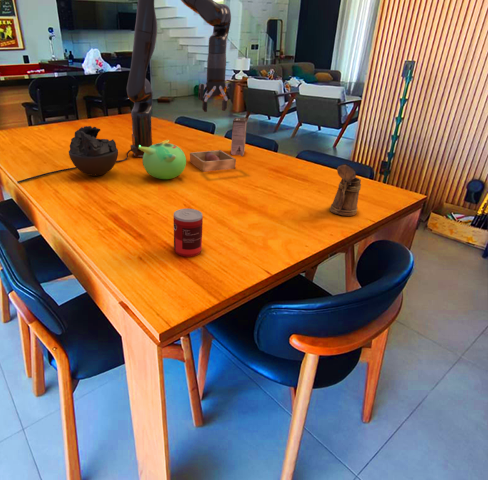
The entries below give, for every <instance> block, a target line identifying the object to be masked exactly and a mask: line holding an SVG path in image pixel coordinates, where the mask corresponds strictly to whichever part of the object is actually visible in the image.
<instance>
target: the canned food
mask: <svg viewBox="0 0 488 480" xmlns="http://www.w3.org/2000/svg"><path fill="white" fill-rule="evenodd" d="M203 219H204V218H203V212H201V211H200V210H198V209H194V208H180V209H177V210H175V211H174V212H173V249H174V252H175V253H176V255H179V256H181V257H184V258H185V257H186V258H191V257H196V256H198V255H199V254H200V253H201V252H202V248H203V222H204V220H203Z"/></svg>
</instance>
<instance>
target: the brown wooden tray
mask: <svg viewBox="0 0 488 480" xmlns="http://www.w3.org/2000/svg"><path fill="white" fill-rule="evenodd" d="M207 153H212V154H214V155H216V156H217V157H218V158H219V159H220V160H217V161H205V155H206V154H207ZM189 163H191V164H192V165H193V166H195V167H196V168H197V169H198V170H200V171H201V172H202V173H204V172H216V171H224V170H225V171H226V170H234V169H236V164H237V158H234V157H233V156H231V154H229V153H226V152H225V151H223V150H221V149H217V150H205V151H195V152H189Z"/></svg>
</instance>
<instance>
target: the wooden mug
mask: <svg viewBox="0 0 488 480" xmlns="http://www.w3.org/2000/svg"><path fill="white" fill-rule="evenodd" d="M336 172H337V175H338V176H339V177H340V178H341V180H340V181H339V183H338V187H337V190H336V193H335V195H334V199H333V201H332V203H331V204H330V208H329V211H330V212H331V213H332V214H335V215H338V216H343V217H353V216H356V215H357V212H358V202H359V195H360V191H361V187H362V184H361V181H362V179H361V178H359V177H356V176H357V171H356V170H355V168H353V166H351V165H349V164H347V163H342V164H339V165H338V166H337V168H336Z"/></svg>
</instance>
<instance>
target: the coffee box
mask: <svg viewBox="0 0 488 480" xmlns="http://www.w3.org/2000/svg"><path fill="white" fill-rule="evenodd" d="M247 127H248V117H234V118H233V120H232V130H231V132H232V133H231V145H230V156H231V155H233V156H241V157H243V156H244V154H245V152H246V151H245V149H246V139H247Z"/></svg>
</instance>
